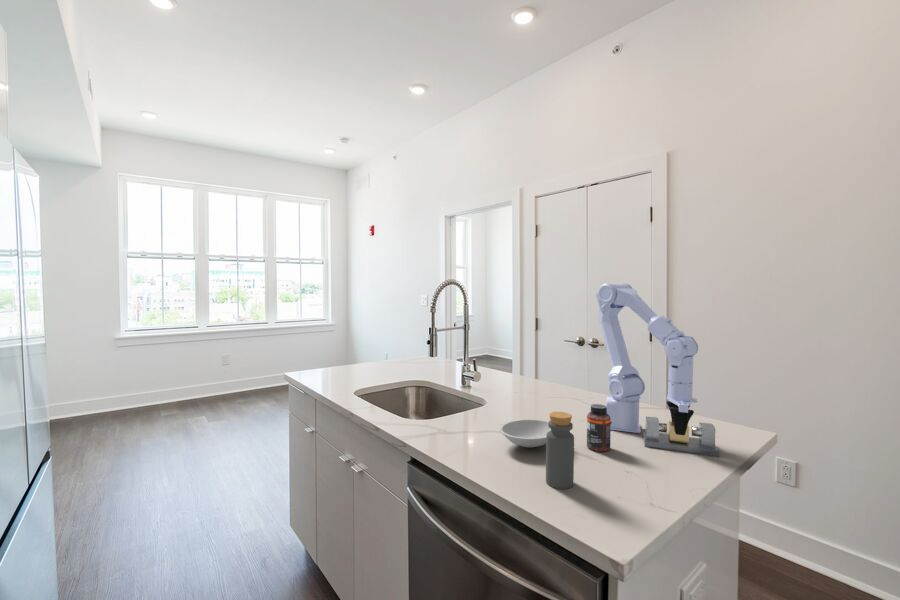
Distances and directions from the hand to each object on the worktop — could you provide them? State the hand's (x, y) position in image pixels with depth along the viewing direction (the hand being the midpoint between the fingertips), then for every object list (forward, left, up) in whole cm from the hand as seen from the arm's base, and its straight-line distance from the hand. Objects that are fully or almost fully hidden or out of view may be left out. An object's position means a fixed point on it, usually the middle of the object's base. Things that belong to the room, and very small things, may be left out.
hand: (678, 431), depth 113 cm
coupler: (0, 0, -2) cm, 2 cm away
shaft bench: (0, 0, -4) cm, 4 cm away
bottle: (-27, -34, -4) cm, 44 cm away
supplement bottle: (-20, -10, -4) cm, 23 cm away
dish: (-37, -16, -4) cm, 41 cm away
